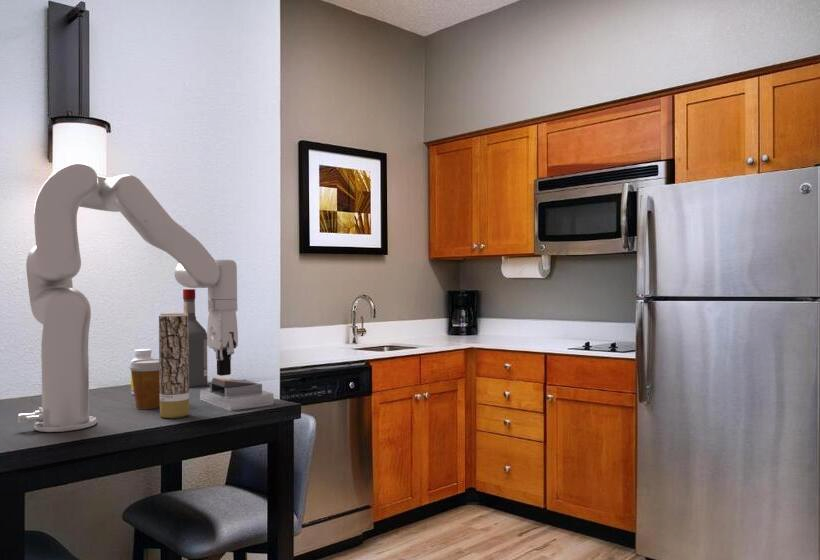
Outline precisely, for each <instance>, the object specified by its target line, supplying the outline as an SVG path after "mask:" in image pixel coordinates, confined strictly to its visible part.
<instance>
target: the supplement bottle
mask: <svg viewBox="0 0 820 560" xmlns="http://www.w3.org/2000/svg"><path fill="white" fill-rule="evenodd" d="M133 355H134V358H133V359H132V360H130V363H131V362H132V361H135V360H144V359H154V357H152V349H151V348H142V349H141V348H139V349H138V348H137V349H134V351H133ZM130 387H131V388H130V391H131V395H133V396H135V394H134V387H133V381H132V373H131V372H130Z"/></svg>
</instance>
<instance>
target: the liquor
mask: <svg viewBox="0 0 820 560" xmlns="http://www.w3.org/2000/svg"><path fill="white" fill-rule="evenodd" d="M182 299H183V313H187V314H188V322H189V389H190V388H197V387H204V386H206V385H207V384H208V345H207V331H206V329H205V328H204V327H203V325H202V324H201V323H200V322H199V321H198V320H197V317H196V288H189V289H182Z"/></svg>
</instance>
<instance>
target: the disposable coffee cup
mask: <svg viewBox="0 0 820 560" xmlns="http://www.w3.org/2000/svg"><path fill="white" fill-rule="evenodd" d="M131 361H132V360H131ZM131 361H130V365H129V370H130V374H131V373H132V381H133V387H134V394H135V395H134V401H135V407H136V409H138V410H151V408H153V409H157V408H158V407H159V408H160V385H159V358H153V359H144V360H135V361H132V362H131Z"/></svg>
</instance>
